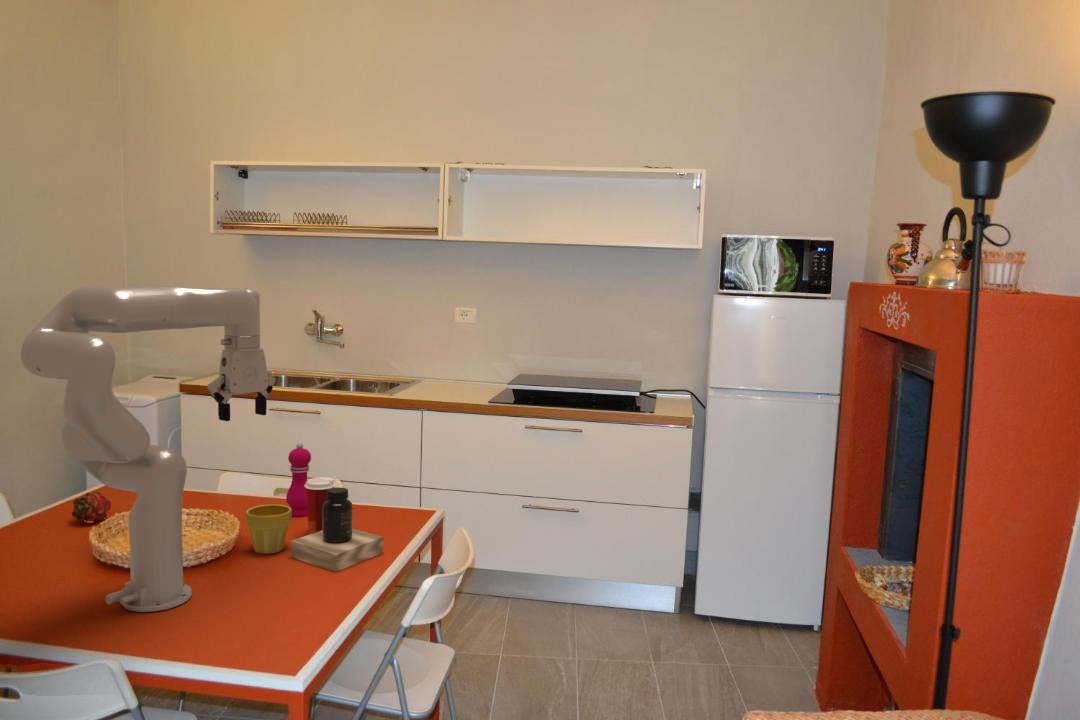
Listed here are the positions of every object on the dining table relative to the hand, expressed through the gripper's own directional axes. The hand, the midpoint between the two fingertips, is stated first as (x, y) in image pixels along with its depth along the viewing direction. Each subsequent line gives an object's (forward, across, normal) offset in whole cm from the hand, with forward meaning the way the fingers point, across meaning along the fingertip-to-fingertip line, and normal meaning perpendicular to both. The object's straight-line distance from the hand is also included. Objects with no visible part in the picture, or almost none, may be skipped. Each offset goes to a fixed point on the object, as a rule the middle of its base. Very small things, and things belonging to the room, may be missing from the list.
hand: (243, 417), depth 177 cm
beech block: (+33, +14, -16) cm, 40 cm away
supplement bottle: (+30, +14, -16) cm, 36 cm away
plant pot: (+34, +7, 0) cm, 34 cm away
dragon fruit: (+34, -7, +53) cm, 63 cm away
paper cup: (+34, +22, -1) cm, 40 cm away
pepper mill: (+34, +30, +16) cm, 48 cm away
